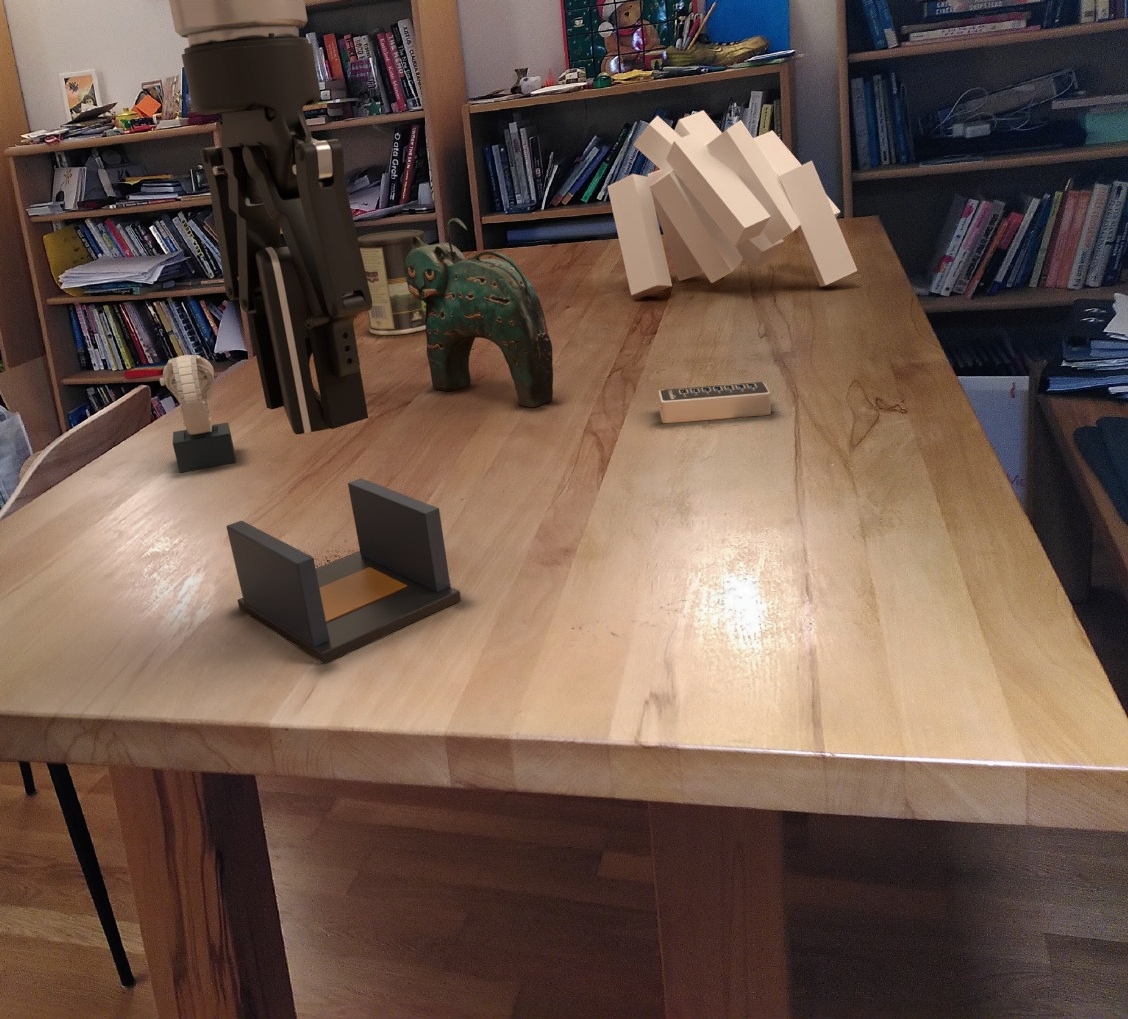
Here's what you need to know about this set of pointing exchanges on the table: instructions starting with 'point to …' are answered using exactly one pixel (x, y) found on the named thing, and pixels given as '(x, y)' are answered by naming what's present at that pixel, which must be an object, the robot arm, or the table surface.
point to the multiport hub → (714, 402)
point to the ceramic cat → (480, 317)
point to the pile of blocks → (721, 206)
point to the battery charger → (290, 338)
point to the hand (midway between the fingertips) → (315, 412)
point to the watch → (197, 415)
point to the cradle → (348, 576)
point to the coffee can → (391, 283)
